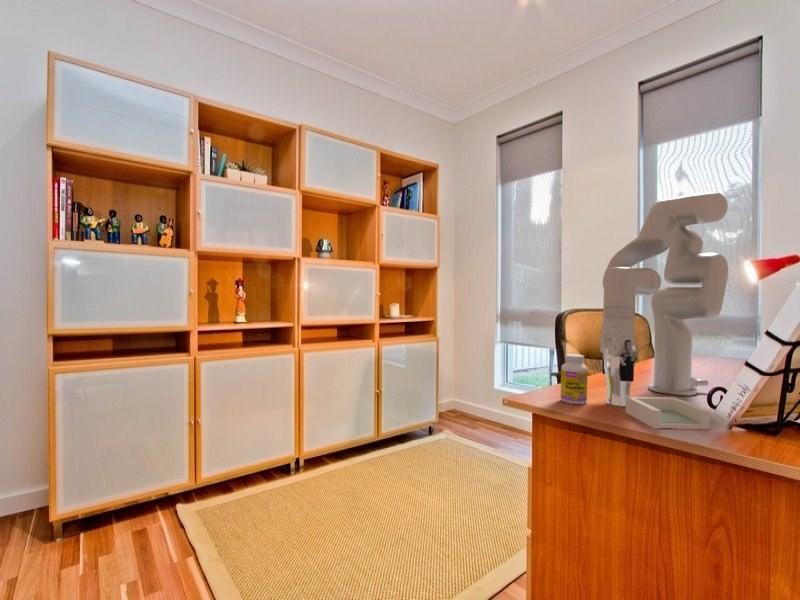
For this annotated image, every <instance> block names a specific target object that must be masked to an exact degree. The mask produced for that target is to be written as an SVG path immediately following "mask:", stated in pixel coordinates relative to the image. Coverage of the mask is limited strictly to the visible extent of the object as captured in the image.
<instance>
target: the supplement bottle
mask: <svg viewBox="0 0 800 600" xmlns="http://www.w3.org/2000/svg"><path fill="white" fill-rule="evenodd" d="M564 358H565V363H563V364H562V365H561V366H560V367H561V369H560V374H561V375H560V400H561V401H562V402H564V403H565V404H569V405H585V404H586V403H587V401H588V367H587V365H585V364H584V360H585V356H584V355H583V354H578V353H577V354H576V353H568V354H565V355H564Z"/></svg>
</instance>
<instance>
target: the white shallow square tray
mask: <svg viewBox="0 0 800 600" xmlns="http://www.w3.org/2000/svg"><path fill="white" fill-rule="evenodd" d="M625 413H626V414H627V415H629V416H631V417H633V418H634V419H637V420H638V421H640V422H641V423H643V424H645V425H647V426H649V427H650V428H652V429H654V430H655V429H656V430H657V429H659V428H672V429H671V430H710V429H711V427H710V426H711V425H710V424H711V410H708V409H705V408H703V407H700V406H698V405H695V404H693V403H691V402H688V401H686V400H683V399H680V398H678V397H674V396H673V397H672V396H671V397H670V396H668V397H667V396H662V397H661V396H630V397H626V407H625ZM674 428H676V429H674ZM659 430H660V429H659Z"/></svg>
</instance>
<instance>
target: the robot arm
mask: <svg viewBox="0 0 800 600" xmlns="http://www.w3.org/2000/svg"><path fill="white" fill-rule="evenodd" d="M728 205H729V204H728V200H727V197H726V196H725V195H724V194H722V193H721V192H718V191H717V192H706V193H693V194H687V195H681V196H675V197H669V198H665V199H661V200H658V201H656V202H655V203H654V204H652V206H651V208H650V210H649V211H648V214H647V216H646V218H645V220H644V223H643V225H642V227H641V229H640V231H639V234H638V235H637V237H636V238H634V239H633V240H631V241H629V243H627V244H626V245H625V246H624V247H622V248H621V249H620V250H618V251H617V252H616V253H615V254H614V255H613V256H612V258H611V259H610V261H609V262H608V265H607V266H606V269H605V271H604V274H603V277H602V287H603V308H602V309H603V310H602V312H603V313H602V315H603V316H602V317H603V319H602V320H603V321H602V323H601V331H600V341H599V342H600V343H599V344H600V345H599V346H600V347H599V351H600V353H602V356H601V358H602V366H601V367H602V370H601V371H602V373H601V374H603V375H605V370H604V357H605V350H606V349H605V348H607V349H608V354H609V355H610V356H613V357H618V356H619V357H620V360H621V363H622V365H620V381H630V382H631V383H633V382H634V381H635V380H634V374H635V366H636V361H637V356H638V353H639V351H638V349H637V347H636V332H635V331H636V330H635V320H636V296H642V297H643V296H650V295H652V296H651V299H650V300H651V302H650V303H651V309H652V316H653V325H654V342H653V343H654V351H653V352H654V354H653V357H654V358H653V362H654V363H653V366H654V367H653V382H651V383H648V385H647V388H648V390H651V391H653V392H656V393H661V394H666V395H674V396H695V395H698V393H699V391H698V389H697V388H696V387H698V386H699V387H708V386H709V381H708V379H698V378H696V377H694V376H692V359H693V358H692V357H693V355H692V352H693V351H692V349H693V346H692V345H693V335H692V331H691V329H690V328H689V326H688V325H687V323H686V322H685V320H693V321H694V320H695V321H710V320H711V321H713V320H715V319H717V318H718V317H719V315H720V314H721V311H722V309H723V308H722V307H723V303H724V298H725V294H726V293H725V292H726V289H727V288H726V287H727V284H728V277H729V264H728V261H727V259H726V257H725V256H724V255H722V254H721V253H717V252H704V253H702V251H703V247H704V246H703V245H704V242H703V239H702V237H701V236H700V235H699V234H698V233H697V232H696V230H694V229H693V228H692V227H691V226H692V225H699V224H700V225H701V224H710V223H715V222H720V221H721V220H722V219H724V217H725V216H726V214H727V213H728V208H729V207H728ZM690 225H691V226H690ZM667 250H668V252H667V257H666V262H665V267H664V270H663V279H664V281H665V282H666V283H667V284H669V285H672V286H671V287H669V286H668V287H662V288H660V287H661V285H662V279H661V276H660V274H659V272H657V270H655V269H653V268H650V267H638V268H636V267H635V268H633V266H635V265H637V264H639V263H641V262H644V261H646V260H649V259H651V258H653V257H654V258H655V257H657V256H658V255H661V254H663V253H664V252H666V251H667ZM675 286H676V287H675ZM688 286H689V287H688ZM692 286H694V287H692ZM625 358H626V360H625Z"/></svg>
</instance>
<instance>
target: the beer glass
mask: <svg viewBox="0 0 800 600" xmlns="http://www.w3.org/2000/svg"><path fill="white" fill-rule="evenodd" d="M605 349H606V350H605V357H604V359H603V360H604V370H605V374H604V376H605V381H606V386H607V387H606V388H607V389H606V391H607V392H606V398H605V404H606V405H608V406H610V407H615V406H616V407H617V408H626V397H631V395H630V393H631V391H630V390H631V383H632V382H630V381H620V365H622V363H621V360H620V357H619V356H618V357H613V356H610V355H609V354H608V349H607V348H605ZM625 360H626V358H625Z"/></svg>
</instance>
